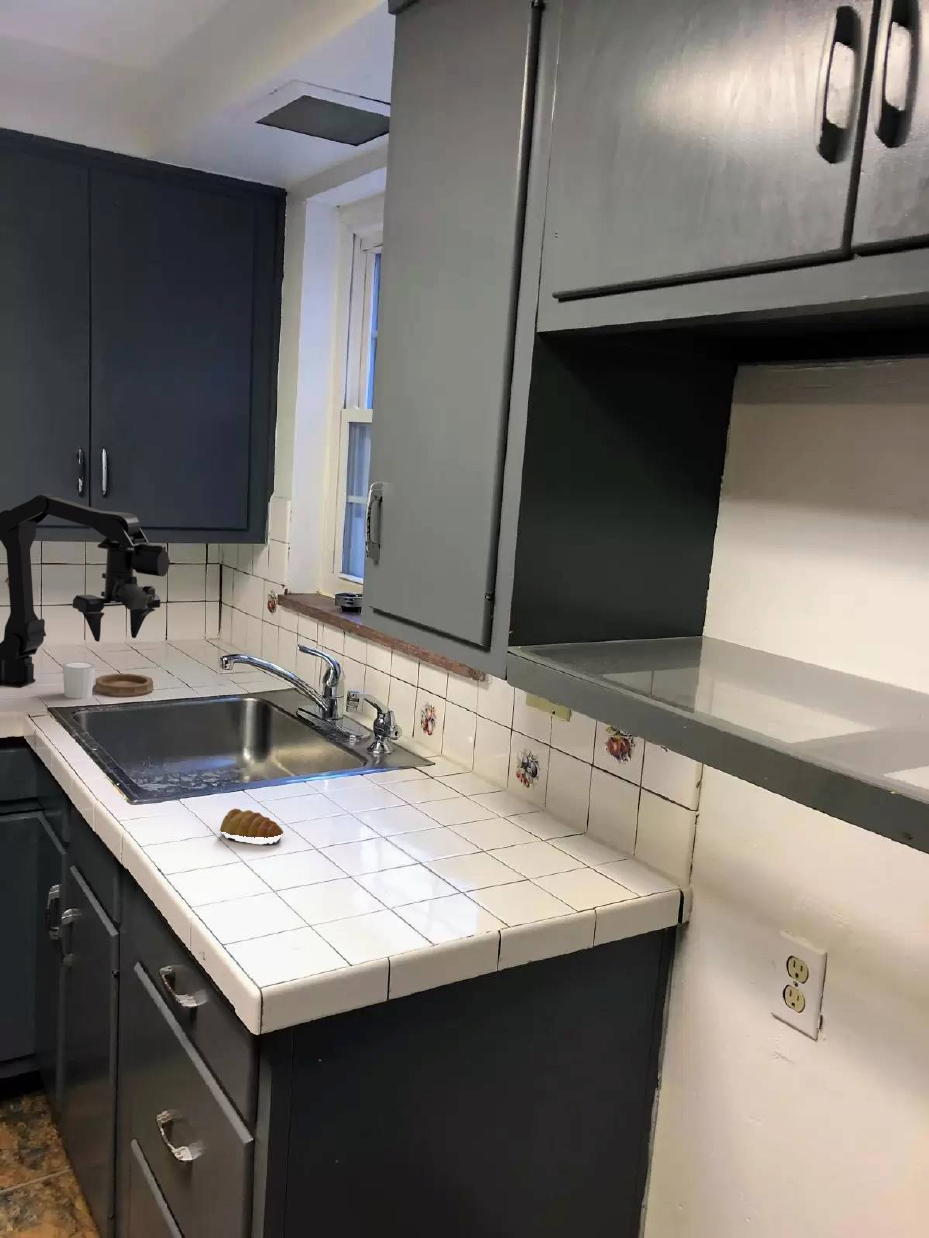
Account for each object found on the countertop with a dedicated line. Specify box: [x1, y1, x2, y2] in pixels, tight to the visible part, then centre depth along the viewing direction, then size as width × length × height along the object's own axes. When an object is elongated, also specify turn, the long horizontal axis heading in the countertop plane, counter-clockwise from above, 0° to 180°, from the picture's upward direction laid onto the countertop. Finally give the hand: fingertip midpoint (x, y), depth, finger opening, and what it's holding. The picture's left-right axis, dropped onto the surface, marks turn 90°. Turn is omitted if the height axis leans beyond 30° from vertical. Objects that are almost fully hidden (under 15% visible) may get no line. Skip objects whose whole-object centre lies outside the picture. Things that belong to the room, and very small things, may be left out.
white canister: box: [61, 661, 96, 699], centre depth 219 cm, size 7×7×7 cm
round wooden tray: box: [93, 673, 155, 698], centre depth 227 cm, size 13×13×2 cm
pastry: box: [219, 808, 284, 838], centre depth 151 cm, size 9×7×4 cm
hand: (115, 639), depth 219 cm, fingers open, 9 cm apart
